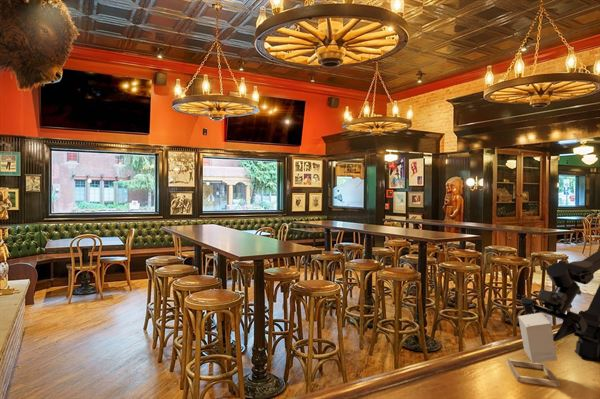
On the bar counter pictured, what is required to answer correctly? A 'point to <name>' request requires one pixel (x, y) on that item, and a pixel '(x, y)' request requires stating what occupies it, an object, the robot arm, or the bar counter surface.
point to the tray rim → (540, 381)
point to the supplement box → (537, 338)
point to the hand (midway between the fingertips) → (538, 334)
